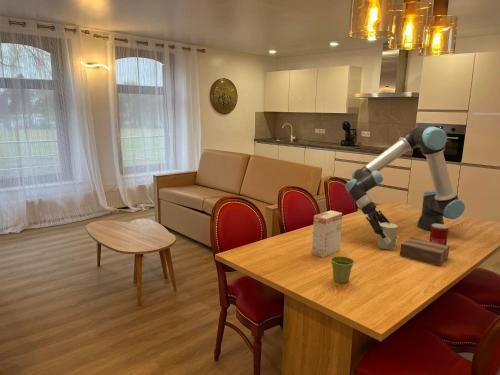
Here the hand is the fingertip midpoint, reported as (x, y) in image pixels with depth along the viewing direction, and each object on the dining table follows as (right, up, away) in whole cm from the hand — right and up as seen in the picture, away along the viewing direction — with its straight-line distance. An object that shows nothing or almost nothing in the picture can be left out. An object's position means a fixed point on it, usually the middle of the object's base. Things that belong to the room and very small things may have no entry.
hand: (393, 240), depth 191 cm
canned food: (+26, -3, +6) cm, 27 cm away
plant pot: (-36, -11, -38) cm, 53 cm away
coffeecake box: (-36, -5, -7) cm, 37 cm away
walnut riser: (+11, -6, -10) cm, 16 cm away
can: (-3, -3, +3) cm, 5 cm away
